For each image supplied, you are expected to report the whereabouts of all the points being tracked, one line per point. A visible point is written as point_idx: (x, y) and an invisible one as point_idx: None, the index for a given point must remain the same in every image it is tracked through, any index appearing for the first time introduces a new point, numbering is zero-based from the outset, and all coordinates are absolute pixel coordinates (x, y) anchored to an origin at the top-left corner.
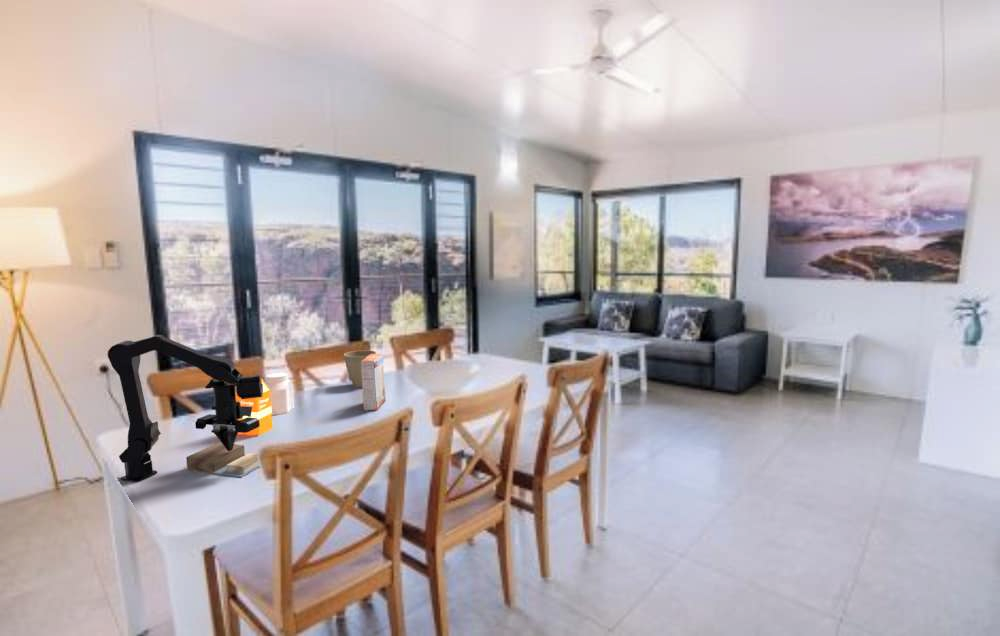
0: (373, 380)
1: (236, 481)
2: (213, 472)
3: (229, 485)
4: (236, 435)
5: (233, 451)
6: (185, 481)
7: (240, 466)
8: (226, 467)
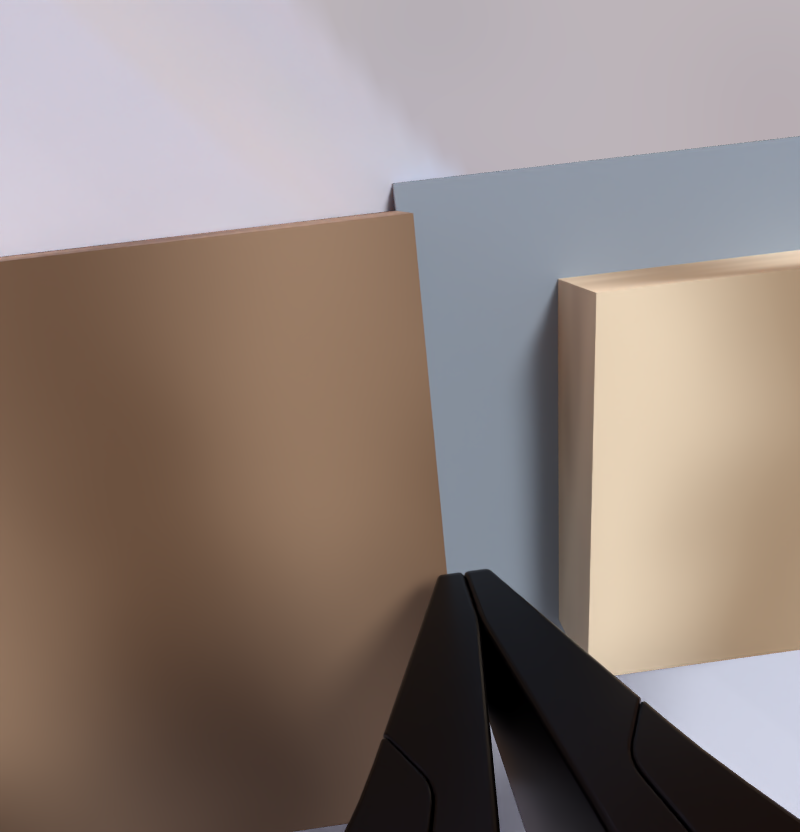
0: None
1: (782, 685)
2: None
3: (770, 745)
4: (771, 813)
5: (436, 485)
6: (335, 827)
7: (791, 649)
8: (470, 564)
